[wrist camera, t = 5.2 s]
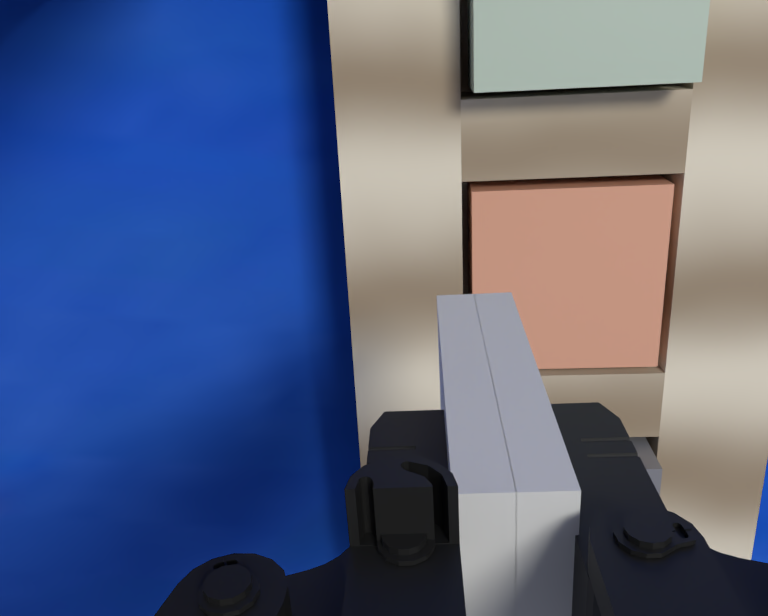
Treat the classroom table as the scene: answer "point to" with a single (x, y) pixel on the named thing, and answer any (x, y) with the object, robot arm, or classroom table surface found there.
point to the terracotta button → (576, 263)
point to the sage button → (584, 43)
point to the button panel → (566, 160)
